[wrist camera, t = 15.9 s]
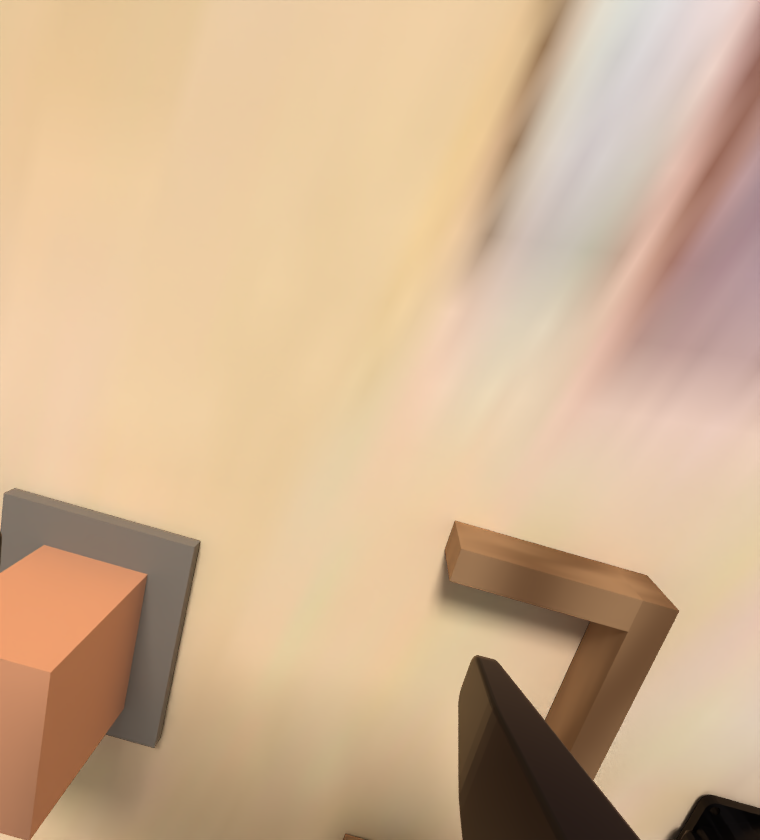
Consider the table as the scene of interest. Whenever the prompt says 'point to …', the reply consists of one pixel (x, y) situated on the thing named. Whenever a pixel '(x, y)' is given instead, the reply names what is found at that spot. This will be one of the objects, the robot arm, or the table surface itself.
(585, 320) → the table surface
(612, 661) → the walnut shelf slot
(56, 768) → the terracotta blank
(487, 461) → the table surface
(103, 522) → the charcoal mat
